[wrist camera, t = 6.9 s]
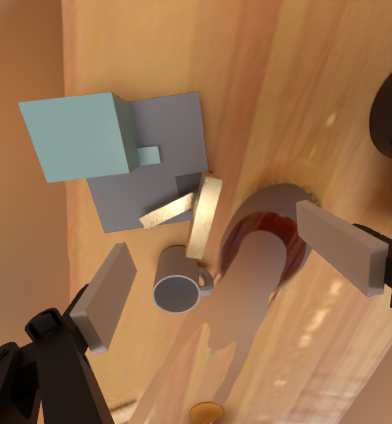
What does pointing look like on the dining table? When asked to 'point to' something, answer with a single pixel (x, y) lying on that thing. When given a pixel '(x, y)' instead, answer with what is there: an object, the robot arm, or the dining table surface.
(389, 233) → the dining table surface
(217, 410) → the cup
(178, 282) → the cup
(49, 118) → the cover
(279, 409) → the dining table surface
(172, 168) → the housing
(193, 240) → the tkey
